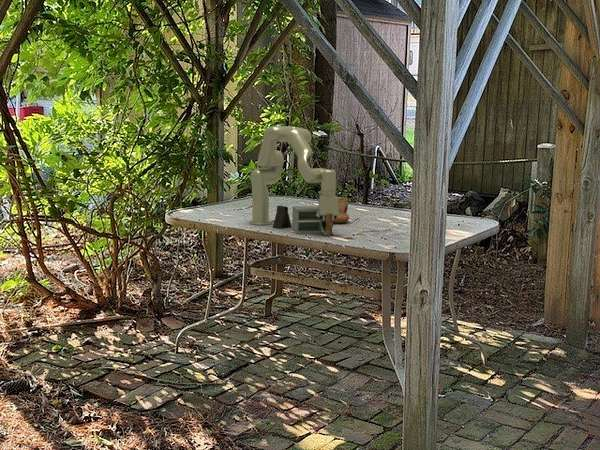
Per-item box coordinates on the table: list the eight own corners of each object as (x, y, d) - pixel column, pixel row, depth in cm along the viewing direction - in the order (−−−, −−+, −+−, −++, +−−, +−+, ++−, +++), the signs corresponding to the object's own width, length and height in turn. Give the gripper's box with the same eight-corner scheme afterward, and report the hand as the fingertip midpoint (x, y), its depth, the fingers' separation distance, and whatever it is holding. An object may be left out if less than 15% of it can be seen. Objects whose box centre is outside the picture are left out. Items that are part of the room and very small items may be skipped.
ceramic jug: (336, 225, 434) (336, 200, 431) (317, 222, 443) (318, 198, 441) (356, 222, 446) (357, 198, 444) (338, 219, 456) (338, 196, 454)
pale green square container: (292, 230, 417) (292, 206, 415) (324, 229, 420) (324, 205, 418) (300, 236, 395) (300, 212, 393) (333, 236, 399) (334, 211, 397)
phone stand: (280, 229, 419) (280, 207, 417) (272, 227, 423) (272, 206, 422) (291, 227, 426) (292, 206, 424) (284, 226, 430) (284, 204, 428)
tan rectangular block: (326, 233, 398) (326, 214, 396) (323, 230, 405) (323, 212, 404) (333, 233, 398) (334, 214, 397) (330, 230, 406) (330, 211, 405)
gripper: (314, 194, 394) (313, 229, 396) (345, 194, 397) (344, 228, 400) (311, 192, 401) (310, 227, 404) (341, 192, 404) (341, 226, 407)
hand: (327, 227), depth 402 cm, fingers closed on tan rectangular block, 3 cm apart
